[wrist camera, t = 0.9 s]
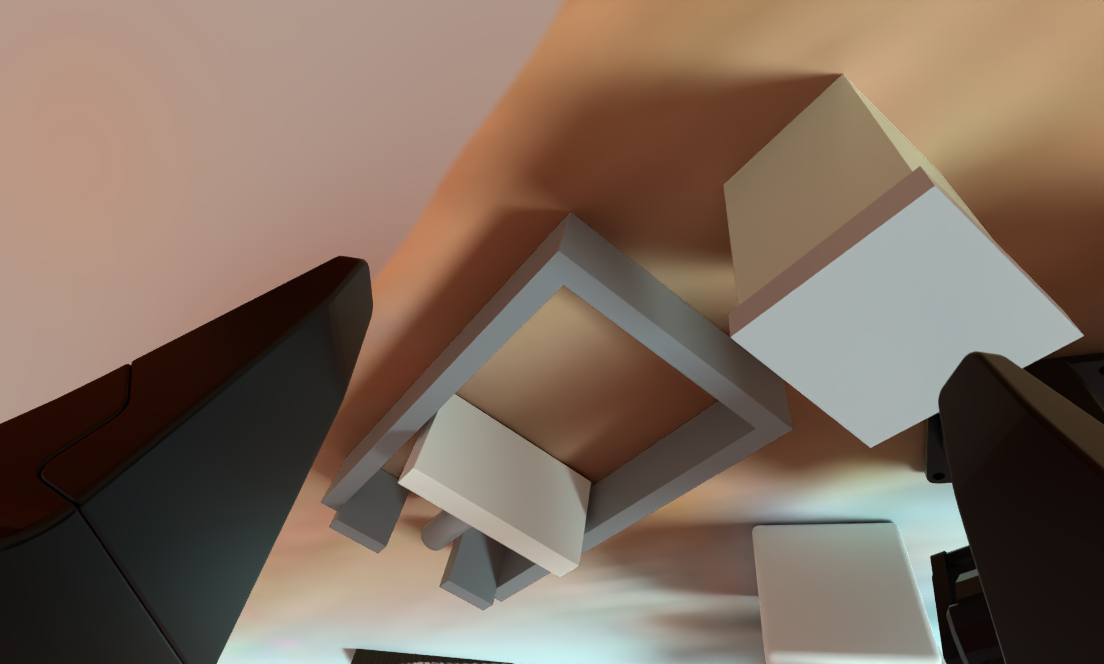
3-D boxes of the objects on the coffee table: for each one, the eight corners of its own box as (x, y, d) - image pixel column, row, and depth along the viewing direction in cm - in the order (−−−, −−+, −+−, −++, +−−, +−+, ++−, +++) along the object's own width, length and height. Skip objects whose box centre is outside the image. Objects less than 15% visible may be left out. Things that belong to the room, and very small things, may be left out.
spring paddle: (447, 389, 31) (413, 467, 27) (591, 482, 33) (579, 566, 29) (379, 458, 35) (341, 535, 31) (511, 536, 38) (491, 616, 34)
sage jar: (950, 172, 21) (1084, 336, 14) (815, 272, 24) (870, 447, 17) (844, 64, 20) (934, 185, 13) (714, 185, 23) (730, 337, 16)
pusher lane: (570, 211, 24) (554, 265, 21) (783, 379, 27) (796, 448, 24) (344, 459, 36) (312, 517, 33) (511, 556, 39) (497, 618, 36)
